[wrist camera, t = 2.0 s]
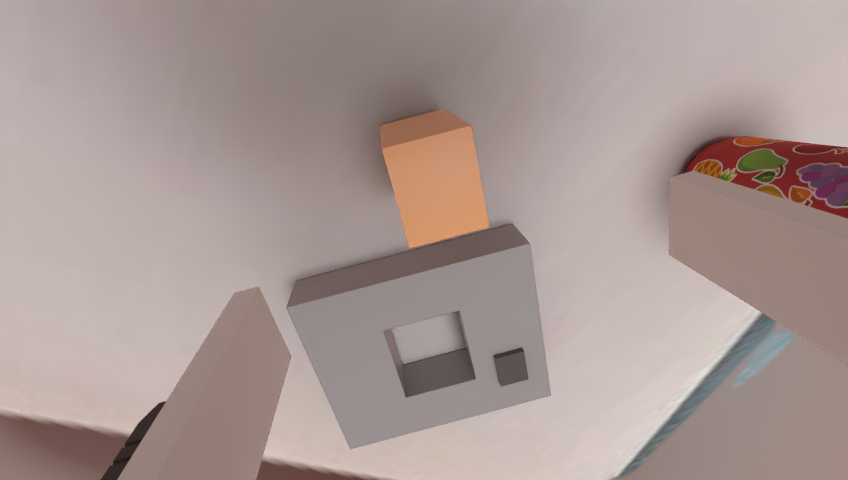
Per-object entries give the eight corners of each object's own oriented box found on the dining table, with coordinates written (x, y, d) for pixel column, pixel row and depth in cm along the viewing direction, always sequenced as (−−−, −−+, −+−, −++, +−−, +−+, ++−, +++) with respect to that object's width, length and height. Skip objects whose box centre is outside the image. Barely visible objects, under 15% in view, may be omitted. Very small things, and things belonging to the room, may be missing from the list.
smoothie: (705, 241, 35) (1063, 428, 17) (644, 190, 33) (989, 346, 14) (782, 162, 33) (1289, 280, 15) (724, 101, 30) (1251, 151, 12)
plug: (379, 122, 28) (381, 148, 19) (440, 106, 28) (471, 125, 19) (399, 194, 30) (409, 248, 21) (455, 179, 30) (489, 227, 21)
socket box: (296, 280, 32) (284, 311, 28) (512, 223, 32) (532, 246, 28) (352, 412, 38) (349, 454, 34) (534, 364, 38) (553, 399, 34)
